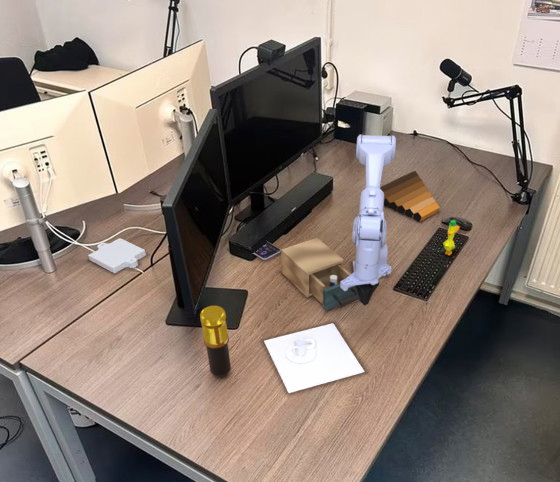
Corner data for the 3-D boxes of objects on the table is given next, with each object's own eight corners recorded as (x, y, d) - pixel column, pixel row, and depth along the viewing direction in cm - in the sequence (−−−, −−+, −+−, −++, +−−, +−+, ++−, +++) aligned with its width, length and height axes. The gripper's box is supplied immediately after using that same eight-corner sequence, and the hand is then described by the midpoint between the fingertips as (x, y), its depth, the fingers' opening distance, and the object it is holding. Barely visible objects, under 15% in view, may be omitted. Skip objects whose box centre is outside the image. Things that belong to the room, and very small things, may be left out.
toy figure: (448, 246, 180) (454, 213, 172) (458, 250, 178) (465, 217, 171) (438, 255, 176) (444, 222, 169) (448, 259, 174) (454, 226, 167)
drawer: (368, 306, 156) (370, 287, 152) (335, 320, 152) (335, 300, 148) (332, 274, 169) (333, 255, 164) (300, 286, 165) (300, 267, 160)
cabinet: (342, 283, 166) (343, 259, 161) (306, 297, 162) (306, 273, 156) (316, 260, 176) (316, 237, 171) (282, 272, 172) (281, 249, 166)
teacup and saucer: (312, 339, 148) (312, 328, 145) (323, 359, 142) (324, 347, 139) (281, 347, 146) (280, 336, 143) (291, 367, 140) (291, 356, 137)
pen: (334, 289, 161) (334, 274, 158) (338, 293, 159) (339, 278, 156) (328, 291, 160) (328, 276, 157) (332, 296, 159) (333, 280, 155)
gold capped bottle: (185, 395, 134) (172, 332, 121) (219, 362, 142) (210, 301, 130) (203, 405, 131) (192, 342, 119) (237, 371, 139) (230, 309, 127)
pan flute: (410, 177, 219) (367, 198, 207) (411, 169, 217) (367, 189, 205) (464, 198, 204) (421, 222, 192) (465, 190, 202) (422, 213, 190)
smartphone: (252, 233, 190) (282, 250, 181) (252, 234, 190) (282, 251, 181) (235, 241, 186) (264, 259, 177) (235, 243, 186) (264, 260, 177)
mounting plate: (151, 257, 181) (150, 252, 180) (119, 276, 174) (118, 271, 172) (116, 240, 190) (115, 235, 189) (84, 257, 183) (83, 252, 181)
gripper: (352, 276, 132) (350, 320, 141) (401, 258, 138) (395, 301, 146) (336, 262, 137) (334, 305, 146) (383, 245, 142) (379, 288, 151)
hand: (364, 302), depth 146 cm, fingers closed
